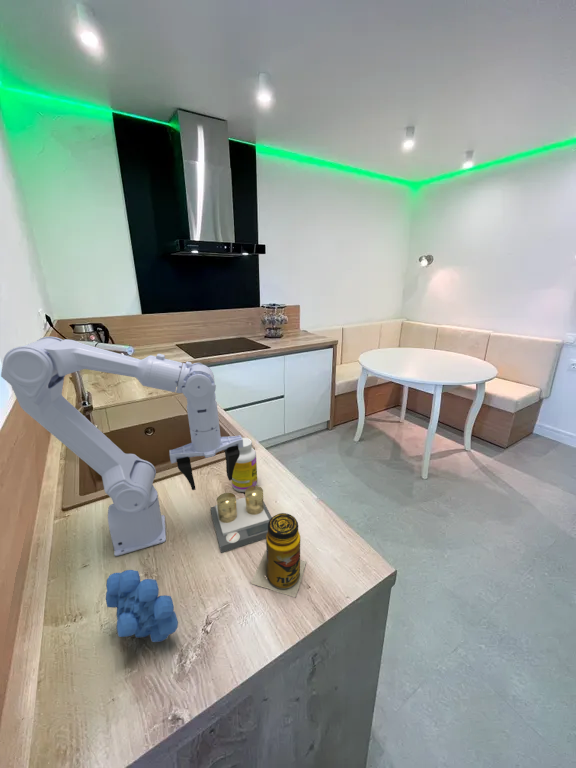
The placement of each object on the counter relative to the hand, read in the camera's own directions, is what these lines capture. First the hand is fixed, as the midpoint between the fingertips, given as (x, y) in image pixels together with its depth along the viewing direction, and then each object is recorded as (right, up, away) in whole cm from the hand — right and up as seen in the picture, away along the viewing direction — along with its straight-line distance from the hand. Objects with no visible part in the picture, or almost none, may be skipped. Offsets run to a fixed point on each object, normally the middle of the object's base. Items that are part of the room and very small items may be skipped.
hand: (211, 482), depth 66 cm
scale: (+6, -10, +3) cm, 12 cm away
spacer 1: (+3, -8, +2) cm, 9 cm away
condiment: (+15, -14, -9) cm, 22 cm away
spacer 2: (+9, -7, +4) cm, 12 cm away
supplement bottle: (+5, -6, +16) cm, 17 cm away
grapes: (-6, -18, -19) cm, 27 cm away
